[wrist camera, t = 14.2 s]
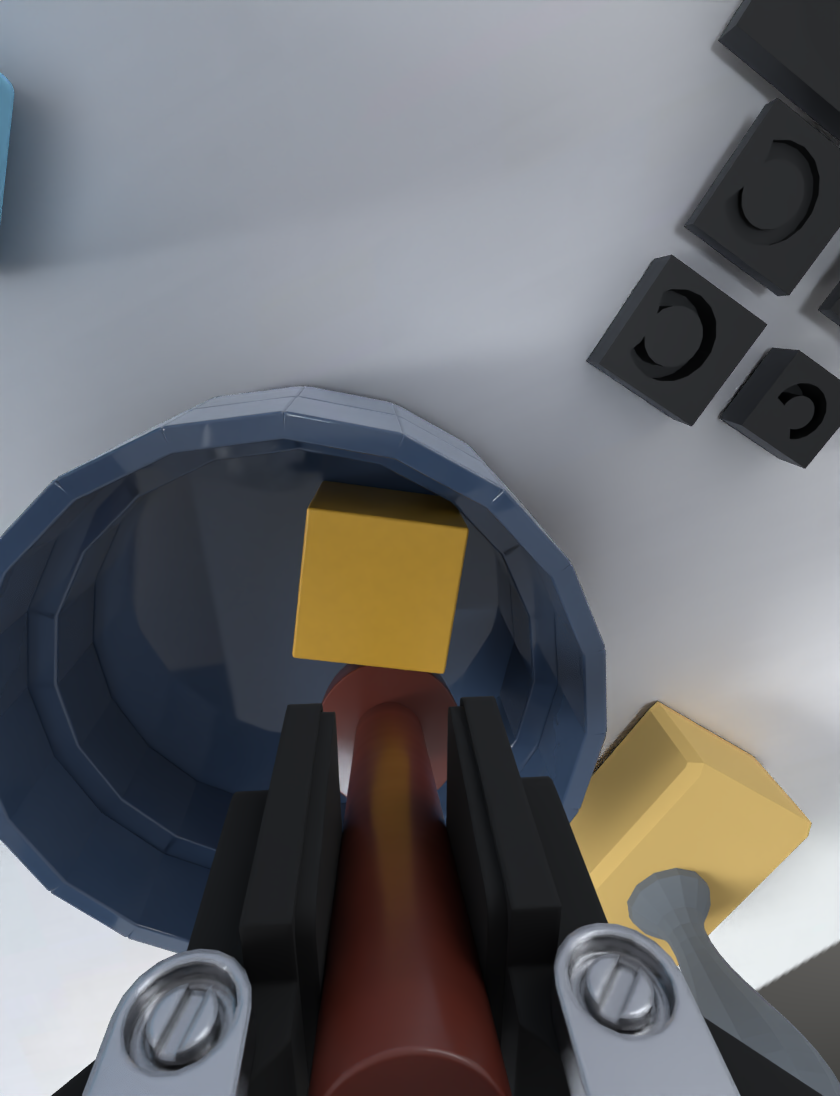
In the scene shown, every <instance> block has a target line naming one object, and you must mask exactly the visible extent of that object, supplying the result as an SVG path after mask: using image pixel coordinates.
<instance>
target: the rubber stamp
mask: <svg viewBox="0 0 840 1096" xmlns="http://www.w3.org/2000/svg"><path fill="white" fill-rule="evenodd" d="M811 824H812V823H811V822H810V820H809V819H808V818H807V817H806V816H805V814H804V813H803V812H802V811H801V810H800V809H799V808H798V806H797V805H796V804H795V803H794V802H793V801H792V800H791V798H790V797H789V796H788V795H787V794H786V793H785V792H784V791H783V789H782V788H781V787H780V786H779V785H778V784H777V783H776V781H775V780H774V779H773V778H772V777H771V776H770V775H769V774H768V772H767V771H766V770H765V769H764V768H763V767H762V766H761V764H760V763H759V762H758V761H757V760H756V759H755V758H754V757H753V756H752V755H750V754H748V753H746V752H745V751H743V750H741V749H740V748H738V747H736V746H734V745H733V744H731V743H729V742H727V741H726V740H724V739H722V738H720V737H719V736H717V735H715V734H714V733H712V732H710V731H708V730H707V729H705V728H703V727H701V726H700V725H698V724H696V723H695V722H693V721H691V720H689V719H688V718H686V717H684V716H682V715H681V714H679V713H677V712H675V711H674V710H672V709H670V708H669V707H667V706H665V705H663V704H662V703H660V702H657V703H655V704H654V705H653V706H652V707H651V708H650V709H649V710H648V711H647V713H646V714H645V715H644V716H643V717H642V718H641V720H640V721H639V722H638V723H637V724H636V725H635V727H634V728H633V729H632V730H631V731H630V732H629V734H628V735H627V736H626V737H625V738H624V739H623V741H622V742H621V743H620V744H619V745H618V746H617V748H616V749H615V750H614V751H613V752H612V753H611V755H610V756H609V757H608V758H607V759H606V760H605V762H604V763H603V764H602V765H601V766H600V767H599V769H598V770H597V771H596V772H595V773H594V774H593V776H592V777H591V780H590V783H589V786H588V789H587V791H586V794H585V797H584V800H583V803H582V806H581V808H580V809H579V812H578V813H577V815H576V816H575V817H574V819H573V820H572V821H571V822H570V826H571V828H572V831H573V833H574V836H575V839H576V841H577V844H578V846H579V849H580V852H581V854H582V857H583V859H584V862H585V865H586V867H587V870H588V872H589V875H590V877H591V880H592V883H593V885H594V888H595V890H596V893H597V896H598V898H599V901H600V903H601V906H602V908H603V911H604V914H605V916H606V919H607V921H608V923H610V924H619V925H622V926H625V927H628V928H631V929H634V930H637V931H638V932H640V933H642V934H643V935H645V936H647V937H648V938H650V939H652V940H653V941H655V942H656V943H657V944H658V945H659V946H660V947H661V948H662V949H663V950H664V951H665V952H666V953H668V954H669V955H670V956H671V957H672V959H673V960H674V962H675V964H676V965H677V966H678V965H679V967H680V970H681V973H682V974H683V976H684V978H685V980H686V982H687V984H688V986H689V989H690V991H691V993H692V995H693V997H694V999H695V1001H696V1003H697V1005H698V1007H699V1009H700V1012H701V1014H702V1016H703V1017H705V1018H706V1019H708V1020H709V1021H711V1022H712V1023H714V1024H715V1025H717V1026H718V1027H720V1028H721V1029H723V1030H724V1031H726V1032H727V1033H729V1034H730V1035H732V1036H734V1037H735V1038H737V1039H738V1040H740V1041H741V1042H743V1043H744V1044H746V1045H747V1046H749V1047H750V1048H752V1049H753V1050H755V1051H756V1052H758V1053H759V1054H761V1055H762V1056H764V1057H765V1058H767V1059H768V1060H770V1061H771V1062H773V1063H774V1064H776V1065H778V1066H779V1067H781V1068H782V1069H784V1070H785V1071H787V1072H788V1073H790V1074H791V1075H793V1076H794V1077H796V1078H797V1079H799V1080H800V1081H802V1082H803V1083H805V1084H806V1085H808V1086H809V1087H811V1088H812V1089H814V1090H815V1091H817V1092H818V1093H820V1094H822V1095H823V1096H840V1083H839V1082H838V1080H837V1078H836V1077H835V1075H834V1073H833V1072H832V1070H831V1069H830V1067H829V1066H828V1065H827V1063H826V1062H825V1061H824V1060H823V1058H822V1057H821V1056H820V1054H819V1053H818V1052H817V1050H816V1049H815V1048H814V1047H813V1046H812V1045H811V1044H810V1043H809V1041H808V1040H807V1039H806V1038H805V1037H804V1036H803V1035H802V1034H801V1033H800V1032H799V1031H798V1030H797V1029H796V1028H795V1027H794V1026H793V1025H792V1024H791V1023H790V1022H789V1021H788V1020H787V1019H786V1018H785V1017H784V1016H783V1015H782V1014H781V1013H780V1012H779V1011H777V1010H776V1009H775V1008H774V1007H773V1006H772V1005H771V1004H770V1003H769V1002H768V1001H766V1000H765V999H764V998H763V997H762V996H761V995H760V994H759V993H758V992H757V991H756V990H754V989H753V988H752V987H751V986H750V985H749V984H748V983H747V982H746V981H744V980H743V979H742V978H741V977H740V976H739V975H738V974H737V973H736V972H735V971H734V970H733V969H732V968H731V966H730V965H729V964H728V963H727V962H726V961H725V960H724V959H723V957H722V956H721V955H720V954H719V952H718V951H717V950H716V948H715V947H714V945H713V944H712V943H711V941H710V939H709V937H708V935H709V934H710V933H711V932H712V931H713V930H714V929H715V928H716V927H717V926H718V925H719V924H720V923H721V922H722V921H723V920H724V919H725V918H726V917H727V916H728V915H729V914H730V913H731V912H732V911H733V910H734V909H735V908H736V907H737V906H738V905H739V904H740V903H741V902H742V901H743V900H744V899H745V898H746V897H747V896H748V895H749V894H750V893H751V892H752V891H753V890H754V889H755V888H756V887H757V886H758V885H759V884H760V883H761V882H762V881H763V880H764V879H765V878H766V877H767V876H768V875H769V874H770V873H771V872H772V871H773V870H774V869H775V868H776V867H777V866H778V865H779V864H781V863H782V862H783V861H784V860H785V859H786V858H787V857H788V856H789V855H790V854H791V853H792V852H793V851H794V850H795V849H796V848H797V847H798V846H799V845H800V844H801V843H802V842H803V841H804V840H805V839H806V838H807V837H808V834H809V831H810V827H811Z"/></svg>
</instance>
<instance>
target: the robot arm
mask: <svg viewBox="0 0 840 1096" xmlns="http://www.w3.org/2000/svg"><path fill="white" fill-rule="evenodd" d="M446 829H447V833H448V837H449V841H450V845H451V849H452V853H453V857H454V861H455V865H456V869H457V873H458V877H459V881H460V885H461V889H462V894H463V898H464V902H465V906H466V910H467V914H468V918H469V922H470V926H471V930H472V934H473V938H474V942H475V946H476V951H477V955H478V959H479V963H480V967H481V971H482V975H483V979H484V983H485V987H486V991H487V995H488V999H489V1003H490V1007H491V1011H492V1016H493V1020H494V1024H495V1028H496V1032H497V1036H498V1040H499V1044H500V1048H501V1052H502V1056H503V1060H504V1064H505V1068H506V1072H507V1076H508V1081H509V1085H510V1089H511V1093H512V1096H823V1095H822V1094H820V1093H818V1092H817V1091H815V1090H814V1089H812V1088H811V1087H809V1086H808V1085H806V1084H805V1083H803V1082H802V1081H800V1080H799V1079H797V1078H796V1077H794V1076H793V1075H791V1074H790V1073H788V1072H787V1071H785V1070H784V1069H782V1068H781V1067H779V1066H778V1065H776V1064H774V1063H773V1062H771V1061H770V1060H768V1059H767V1058H765V1057H764V1056H762V1055H761V1054H759V1053H758V1052H756V1051H755V1050H753V1049H752V1048H750V1047H749V1046H747V1045H746V1044H744V1043H743V1042H741V1041H740V1040H738V1039H737V1038H735V1037H734V1036H732V1035H730V1034H729V1033H727V1032H726V1031H724V1030H723V1029H721V1028H720V1027H718V1026H717V1025H715V1024H714V1023H712V1022H711V1021H709V1020H708V1019H706V1018H705V1017H703V1016H702V1014H701V1012H700V1009H699V1007H698V1005H697V1003H696V1001H695V999H694V997H693V995H692V993H691V991H690V989H689V986H688V984H687V982H686V980H685V978H684V976H683V974H682V973H681V971H680V970H679V968H678V967H677V965H676V964H675V962H674V960H673V959H672V957H671V956H670V955H669V954H668V953H666V952H665V951H664V950H663V949H662V948H661V947H660V946H659V945H658V944H657V943H656V942H655V941H653V940H652V939H650V938H648V937H647V936H645V935H643V934H642V933H640V932H638V931H637V930H634V929H631V928H628V927H625V926H622V925H619V924H610V923H608V921H607V919H606V916H605V914H604V911H603V908H602V906H601V903H600V901H599V898H598V896H597V893H596V890H595V888H594V885H593V883H592V880H591V877H590V875H589V872H588V870H587V867H586V865H585V862H584V859H583V857H582V854H581V852H580V849H579V846H578V844H577V841H576V839H575V836H574V833H573V831H572V828H571V826H570V823H569V821H568V818H567V815H566V813H565V810H564V808H563V805H562V802H561V800H560V797H559V795H558V792H557V790H556V787H555V785H554V783H553V781H552V779H551V778H550V777H549V776H540V777H520V774H519V771H518V768H517V765H516V761H515V758H514V755H513V752H512V749H511V746H510V743H509V739H508V736H507V733H506V730H505V727H504V724H503V721H502V718H501V714H500V711H499V708H498V705H497V702H496V699H495V697H494V696H479V697H461V699H460V706H453V707H449V708H448V734H447V801H446ZM341 841H342V818H341V800H340V782H339V764H338V746H337V728H336V714H335V712H323V705H322V703H311V704H289V705H287V709H286V713H285V717H284V722H283V727H282V731H281V736H280V740H279V745H278V749H277V754H276V759H275V763H274V768H273V772H272V777H271V781H270V786H269V790H260V791H240V792H235V793H234V795H233V796H232V799H231V802H230V804H229V808H228V811H227V815H226V818H225V822H224V825H223V828H222V832H221V835H220V839H219V842H218V846H217V849H216V852H215V856H214V859H213V863H212V866H211V869H210V873H209V876H208V880H207V883H206V887H205V890H204V893H203V897H202V900H201V904H200V907H199V911H198V914H197V917H196V921H195V924H194V928H193V931H192V935H191V938H190V941H189V945H188V948H187V951H185V952H180V953H177V954H175V955H173V956H171V957H169V958H167V959H164V960H162V961H160V962H158V963H157V964H156V965H154V966H153V967H152V968H150V969H149V970H148V971H146V972H145V973H144V974H142V975H141V976H140V977H139V978H138V979H137V980H136V981H135V982H134V983H133V985H132V986H131V987H130V988H129V989H128V990H127V991H126V993H125V994H124V995H123V996H122V998H121V1000H120V1002H119V1004H118V1006H117V1008H116V1010H115V1011H114V1013H113V1015H112V1017H111V1020H110V1022H109V1025H108V1028H107V1030H106V1033H105V1036H104V1038H103V1041H102V1044H101V1046H100V1049H99V1052H98V1054H97V1057H96V1060H94V1061H93V1062H92V1063H91V1064H90V1065H88V1066H87V1067H86V1068H85V1069H83V1070H82V1071H81V1072H80V1073H78V1074H77V1075H76V1076H75V1077H74V1078H72V1079H71V1080H70V1081H69V1082H67V1083H66V1084H65V1085H64V1086H63V1087H61V1088H60V1089H59V1090H58V1091H56V1092H55V1093H54V1094H53V1095H52V1096H308V1090H309V1082H310V1075H311V1067H312V1060H313V1052H314V1044H315V1037H316V1029H317V1022H318V1014H319V1006H320V1001H321V994H322V986H323V979H324V971H325V963H326V956H327V948H328V940H329V933H330V925H331V917H332V910H333V902H334V894H335V887H336V879H337V871H338V864H339V856H340V848H341Z"/></svg>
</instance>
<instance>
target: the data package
mask: <svg viewBox="0 0 840 1096" xmlns="http://www.w3.org/2000/svg"><path fill="white" fill-rule="evenodd" d="M13 101H14V89H13V86H12V84H11V83H10V81H9V80H8V79H7V78H6V77H5V76H4V75H3V74H1V73H0V223H1V214H2V205H3V195H4V186H5V176H6V167H7V158H8V148H9V139H10V129H11V120H12V111H13Z"/></svg>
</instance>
